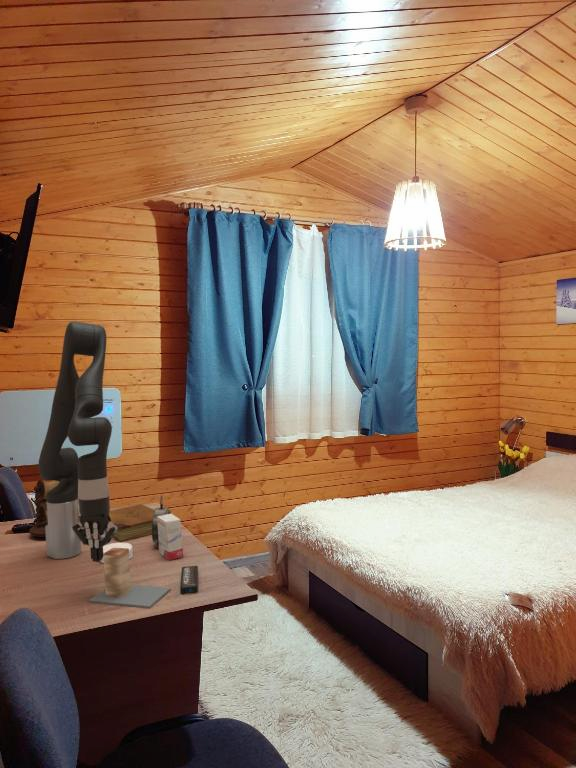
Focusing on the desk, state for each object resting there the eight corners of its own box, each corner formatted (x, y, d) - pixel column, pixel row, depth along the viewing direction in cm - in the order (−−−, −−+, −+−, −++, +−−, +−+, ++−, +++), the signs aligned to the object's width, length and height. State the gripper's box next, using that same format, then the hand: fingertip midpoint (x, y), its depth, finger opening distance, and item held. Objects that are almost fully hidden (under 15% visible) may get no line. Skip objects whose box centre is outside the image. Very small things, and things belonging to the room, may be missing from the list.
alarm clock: (158, 539, 193) (155, 491, 192) (174, 538, 193) (172, 490, 192) (151, 550, 182) (149, 500, 181) (168, 550, 182) (166, 499, 181)
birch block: (105, 595, 147) (103, 553, 147) (115, 588, 152) (113, 547, 151) (121, 597, 146) (119, 554, 146) (130, 590, 151) (128, 548, 150)
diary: (171, 532, 202) (170, 515, 202) (120, 544, 191) (119, 527, 191) (144, 517, 220) (143, 503, 220) (95, 528, 209) (94, 512, 209)
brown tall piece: (62, 525, 213) (59, 471, 212) (83, 532, 203) (80, 476, 202) (22, 535, 202) (18, 479, 201) (42, 543, 192) (38, 484, 191)
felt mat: (89, 602, 145) (89, 600, 145) (113, 584, 156) (113, 583, 156) (149, 608, 140) (149, 606, 140) (170, 589, 151) (170, 588, 151)
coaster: (93, 565, 172) (93, 553, 171) (105, 553, 182) (105, 542, 181) (127, 564, 171) (126, 552, 171) (137, 552, 181) (136, 541, 181)
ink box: (183, 557, 175) (182, 519, 174) (167, 561, 172) (165, 522, 171) (173, 549, 182) (172, 512, 181) (158, 553, 179) (156, 515, 179)
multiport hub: (198, 573, 163) (197, 565, 163) (198, 594, 149) (197, 585, 148) (182, 574, 162) (181, 566, 162) (180, 596, 148) (180, 587, 148)
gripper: (62, 497, 147) (66, 564, 148) (107, 499, 143) (111, 567, 144) (80, 490, 154) (84, 554, 155) (124, 492, 151) (127, 557, 152)
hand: (97, 560), depth 150 cm, fingers closed
